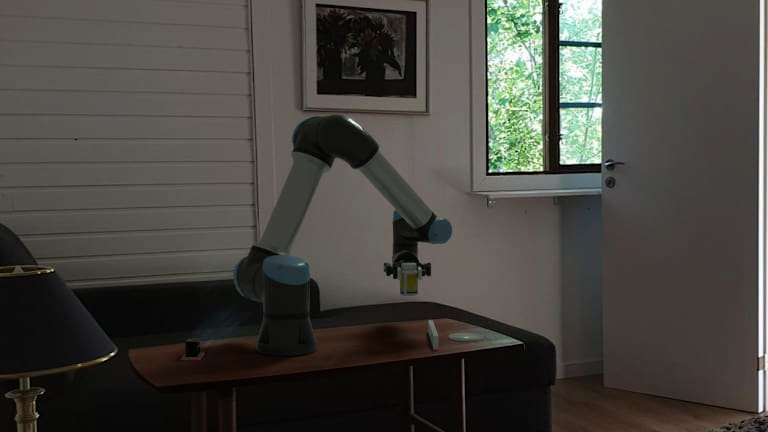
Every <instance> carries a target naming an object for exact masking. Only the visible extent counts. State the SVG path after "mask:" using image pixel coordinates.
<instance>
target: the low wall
mask: <svg viewBox="0 0 768 432" xmlns="http://www.w3.org/2000/svg"><path fill="white" fill-rule="evenodd" d="M427 324H428V325H427V327H428V328H427V330H428V331H427V332H428V336H429V339H430V342H431V345H432V349H433V350H434V351H435V350H437V351H438V350H439V334H438V331H437V329H436V326H435V323H434V320H433V319H428V322H427Z"/></svg>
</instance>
